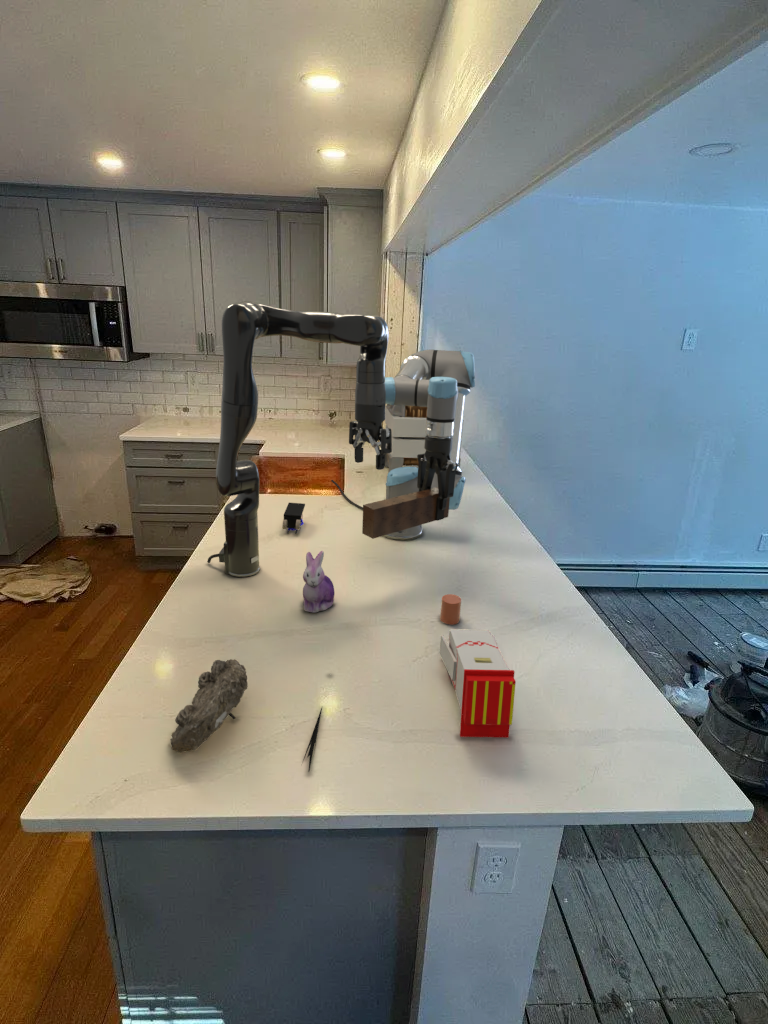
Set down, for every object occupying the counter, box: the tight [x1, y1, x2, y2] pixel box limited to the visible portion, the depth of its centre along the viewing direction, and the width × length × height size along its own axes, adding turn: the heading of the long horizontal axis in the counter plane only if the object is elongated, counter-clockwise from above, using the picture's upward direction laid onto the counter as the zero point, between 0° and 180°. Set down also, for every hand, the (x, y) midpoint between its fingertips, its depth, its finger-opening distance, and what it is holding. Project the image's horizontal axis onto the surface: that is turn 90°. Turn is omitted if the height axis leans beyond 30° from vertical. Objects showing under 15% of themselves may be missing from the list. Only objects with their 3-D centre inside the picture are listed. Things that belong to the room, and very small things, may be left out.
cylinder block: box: [439, 593, 462, 626], centre depth 145 cm, size 5×5×6 cm
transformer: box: [384, 404, 464, 473], centre depth 268 cm, size 34×33×41 cm
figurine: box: [302, 550, 335, 613], centre depth 147 cm, size 9×10×15 cm
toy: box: [438, 628, 517, 738], centre depth 117 cm, size 12×13×30 cm
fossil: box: [170, 658, 249, 753], centre depth 106 cm, size 22×10×15 cm
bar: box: [361, 487, 450, 539], centre depth 154 cm, size 28×4×8 cm, turn 131°
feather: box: [301, 673, 332, 771], centre depth 108 cm, size 2×28×2 cm
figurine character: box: [282, 502, 306, 535], centre depth 199 cm, size 7×8×15 cm
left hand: (369, 465), depth 144 cm, fingers open, 8 cm apart
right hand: (432, 516), depth 161 cm, fingers closed on bar, 4 cm apart
